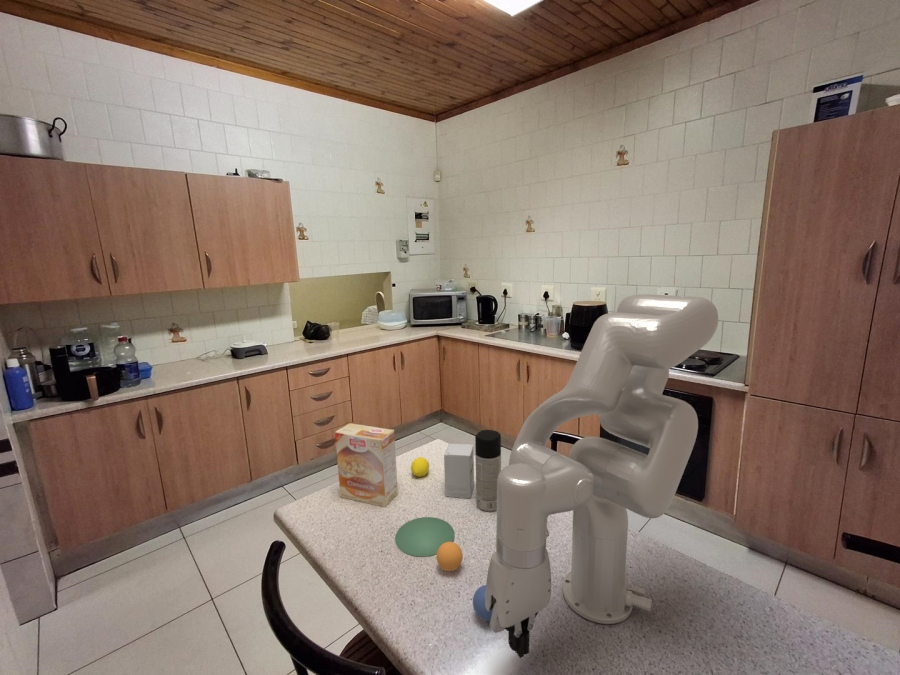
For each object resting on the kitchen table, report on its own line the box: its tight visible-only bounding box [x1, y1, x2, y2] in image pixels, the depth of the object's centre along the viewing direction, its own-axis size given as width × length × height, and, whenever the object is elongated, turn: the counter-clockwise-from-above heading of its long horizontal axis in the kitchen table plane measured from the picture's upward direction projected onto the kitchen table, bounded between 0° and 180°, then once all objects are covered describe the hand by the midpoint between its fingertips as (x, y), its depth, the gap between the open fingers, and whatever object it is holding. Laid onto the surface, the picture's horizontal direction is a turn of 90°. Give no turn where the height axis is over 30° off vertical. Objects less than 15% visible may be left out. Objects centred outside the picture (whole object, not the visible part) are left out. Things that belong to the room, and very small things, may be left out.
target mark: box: [394, 516, 456, 558], centre depth 97 cm, size 14×14×1 cm
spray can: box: [474, 429, 502, 512], centre depth 107 cm, size 7×7×20 cm
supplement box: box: [443, 443, 475, 499], centre depth 114 cm, size 7×7×13 cm
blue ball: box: [472, 584, 493, 622], centre depth 74 cm, size 6×6×6 cm
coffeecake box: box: [334, 422, 399, 508], centre depth 113 cm, size 15×7×20 cm, turn 67°
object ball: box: [436, 541, 464, 572], centre depth 86 cm, size 6×6×6 cm
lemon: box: [410, 456, 430, 478], centre depth 125 cm, size 7×5×5 cm
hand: (518, 648), depth 66 cm, fingers closed
